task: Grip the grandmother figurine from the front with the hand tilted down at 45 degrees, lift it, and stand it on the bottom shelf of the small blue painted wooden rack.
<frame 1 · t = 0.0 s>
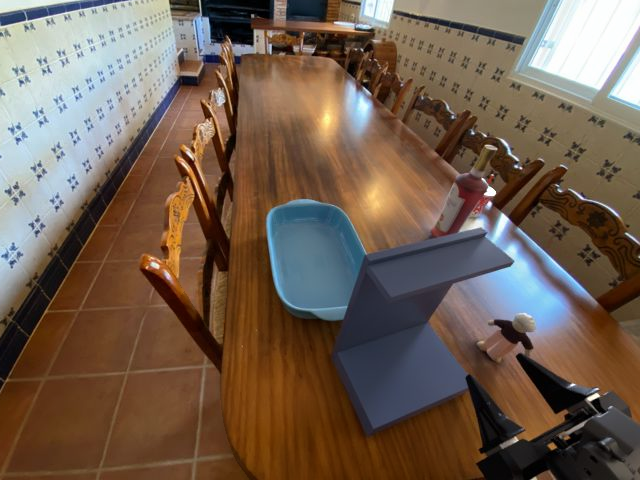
hand: (493, 364, 40), 16 cm above the table, tool horizontal, fingers open, 9 cm apart
grandmother figurine: (491, 353, 58), on the table
rack: (397, 377, 53), on the table
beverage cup: (470, 213, 94), on the table
liquor: (441, 238, 84), on the table
casserole dish: (313, 266, 73), on the table
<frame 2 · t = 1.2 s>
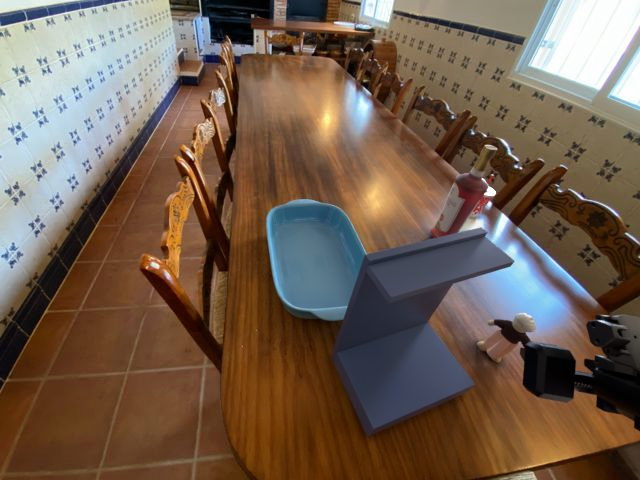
hand: (552, 356, 45), 13 cm above the table, tool tilted 45°, fingers open, 9 cm apart
nothing on the table moved.
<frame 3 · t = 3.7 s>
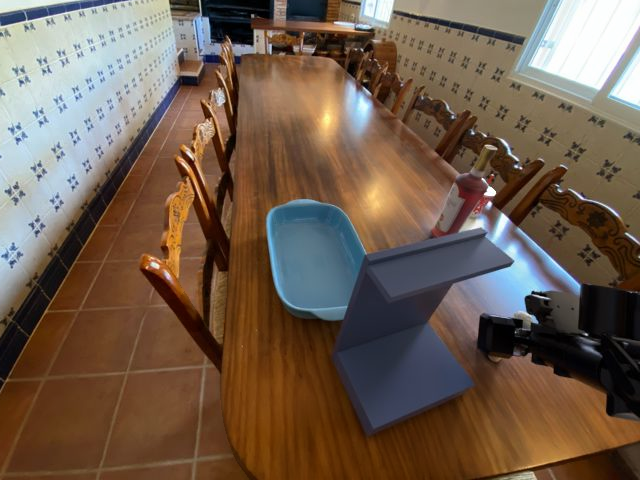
hand: (507, 328, 55), 7 cm above the table, tool tilted 45°, fingers closed on grandmother figurine, 3 cm apart
grandmother figurine: (491, 353, 58), on the table, touching gripper
everything else where it was.
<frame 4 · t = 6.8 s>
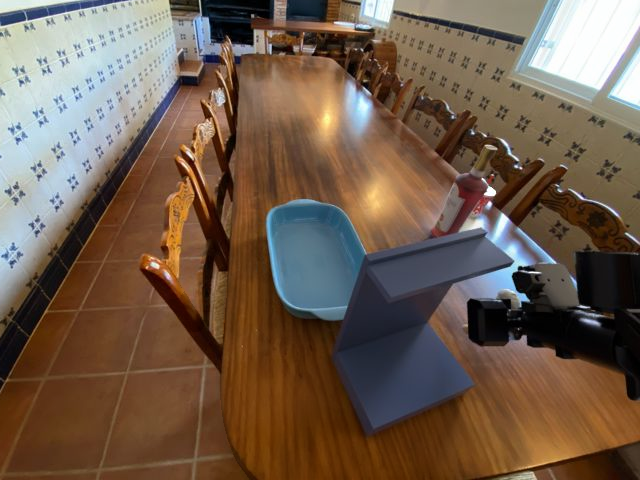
hand: (490, 309, 51), 13 cm above the table, tool tilted 45°, fingers closed on grandmother figurine, 3 cm apart
grandmother figurine: (476, 338, 54), point 6 cm above the table, touching gripper
everything else where it was.
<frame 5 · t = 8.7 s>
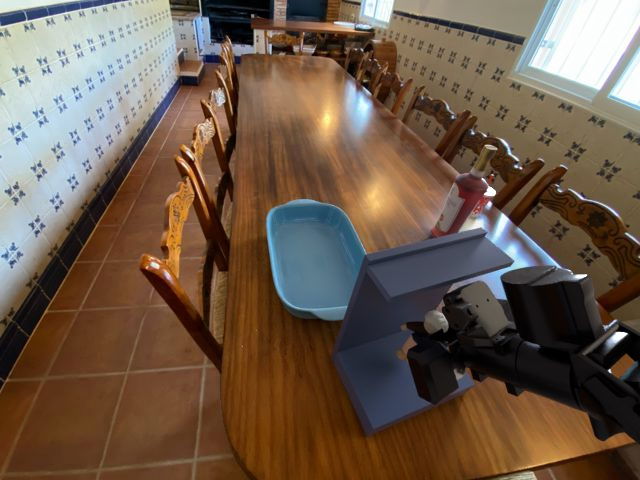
hand: (420, 331, 46), 13 cm above the table, tool tilted 45°, fingers closed on grandmother figurine, 3 cm apart
grandmother figurine: (413, 360, 49), point 6 cm above the table, touching gripper
everything else where it was.
when the fingers open (11 cm above the table, at t = 10.2 s): grandmother figurine stays where it is, resting on rack.
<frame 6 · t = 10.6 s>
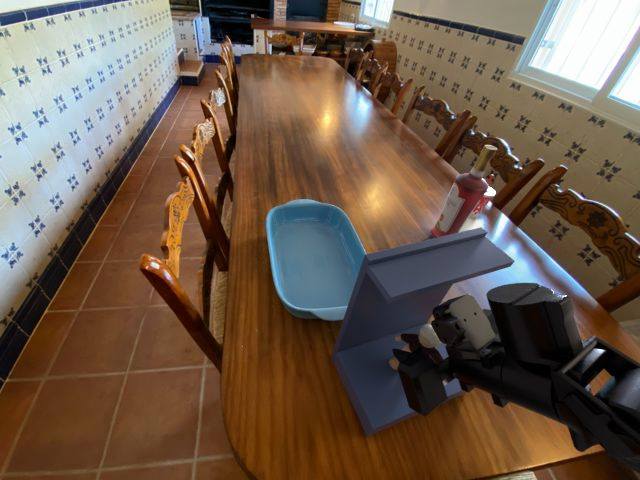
hand: (411, 341, 48), 11 cm above the table, tool tilted 45°, fingers open, 7 cm apart
grandmother figurine: (405, 370, 51), point 4 cm above the table, touching rack
everything else where it was.
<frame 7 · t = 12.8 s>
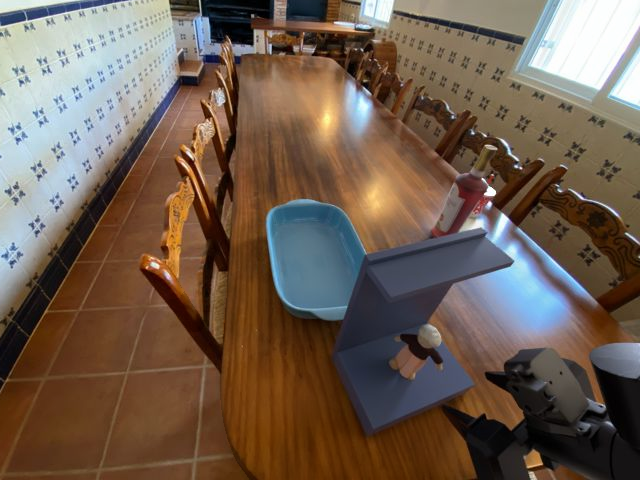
hand: (465, 390, 41), 13 cm above the table, tool tilted 45°, fingers open, 9 cm apart
nothing on the table moved.
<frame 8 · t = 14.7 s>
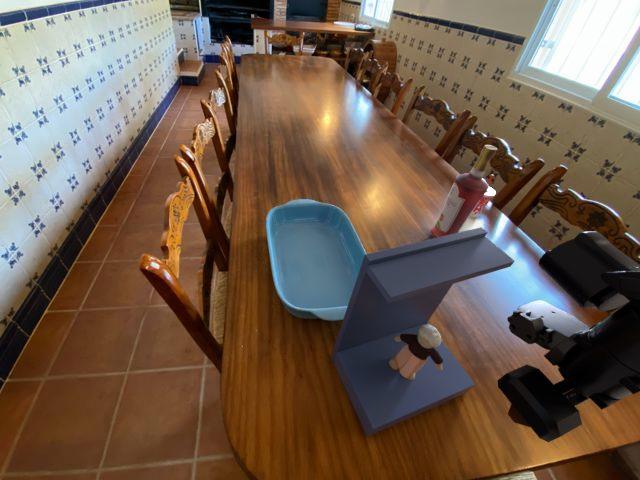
hand: (536, 405, 39), 13 cm above the table, tool pointing down, fingers open, 9 cm apart
nothing on the table moved.
at the end: grandmother figurine inside the target area on the rack (0.3 cm from its centre), point 3.8 cm above the rack's base; grandmother figurine tilted 0°; the gripper is holding nothing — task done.
